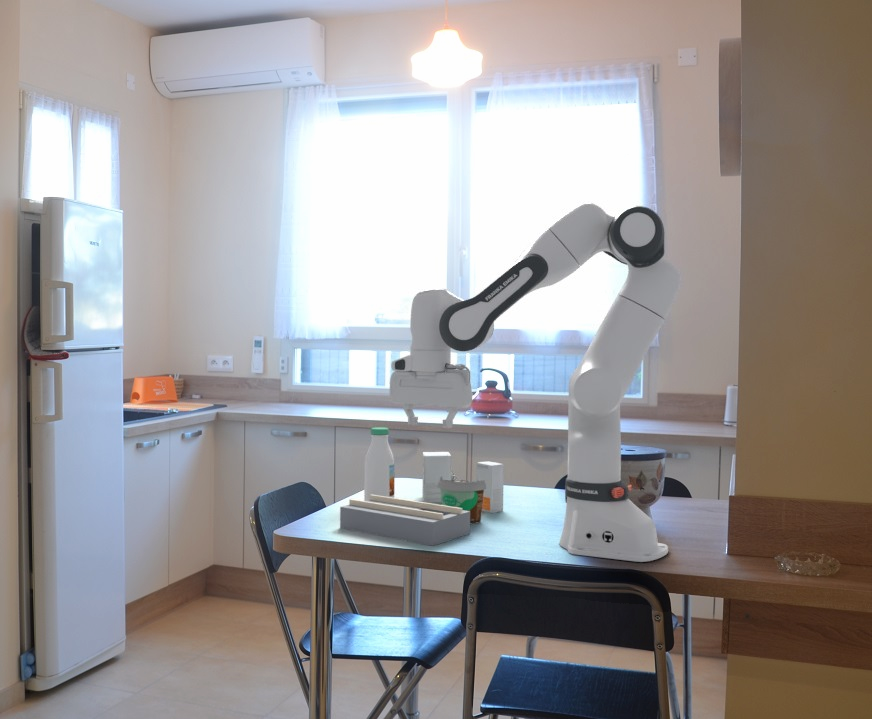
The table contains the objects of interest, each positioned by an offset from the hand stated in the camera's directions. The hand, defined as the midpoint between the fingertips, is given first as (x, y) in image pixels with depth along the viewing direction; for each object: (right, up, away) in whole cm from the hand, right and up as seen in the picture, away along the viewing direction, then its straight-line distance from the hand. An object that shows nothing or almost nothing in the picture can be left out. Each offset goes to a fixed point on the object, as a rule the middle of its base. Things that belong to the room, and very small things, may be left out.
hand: (430, 426), depth 190 cm
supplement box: (+1, -23, +40) cm, 46 cm away
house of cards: (+4, -23, +68) cm, 72 cm away
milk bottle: (-13, -23, +34) cm, 43 cm away
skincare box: (+15, -24, +28) cm, 40 cm away
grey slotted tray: (-6, -24, +5) cm, 25 cm away
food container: (+6, -24, +15) cm, 29 cm away
